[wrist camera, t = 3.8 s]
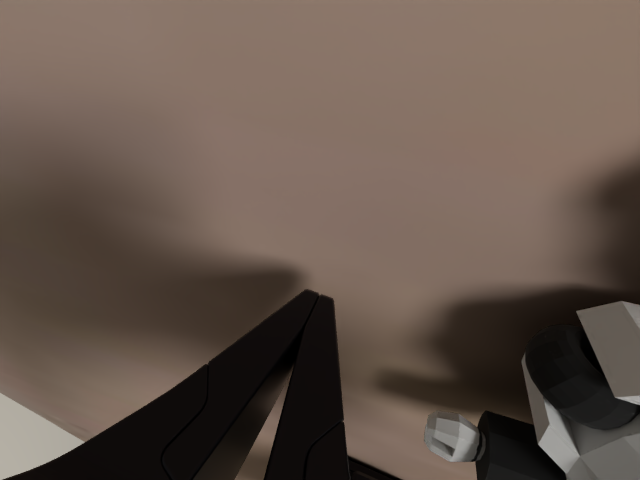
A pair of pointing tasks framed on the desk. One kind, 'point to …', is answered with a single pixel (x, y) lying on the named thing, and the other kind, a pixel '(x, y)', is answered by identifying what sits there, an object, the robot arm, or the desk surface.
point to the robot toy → (562, 407)
